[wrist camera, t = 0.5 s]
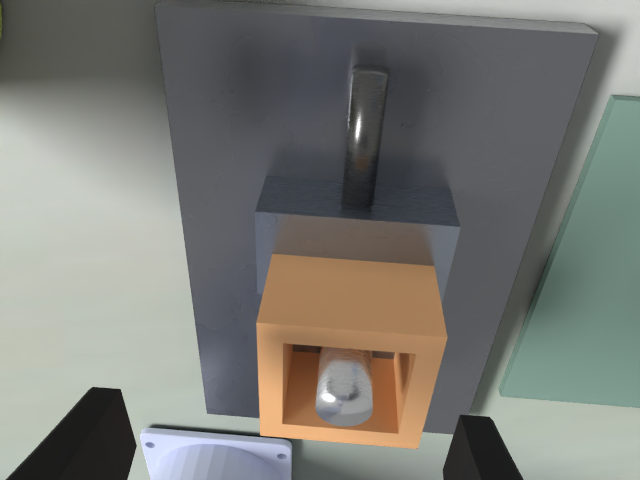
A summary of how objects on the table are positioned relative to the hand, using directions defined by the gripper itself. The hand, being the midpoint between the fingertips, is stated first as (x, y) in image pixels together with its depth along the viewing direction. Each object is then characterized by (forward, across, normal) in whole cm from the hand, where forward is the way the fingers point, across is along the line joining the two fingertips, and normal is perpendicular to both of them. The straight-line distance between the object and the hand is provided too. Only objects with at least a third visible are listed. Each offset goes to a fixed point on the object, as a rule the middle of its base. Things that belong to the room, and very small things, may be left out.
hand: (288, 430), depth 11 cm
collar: (+6, -1, +2) cm, 7 cm away
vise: (+9, -1, +2) cm, 10 cm away
